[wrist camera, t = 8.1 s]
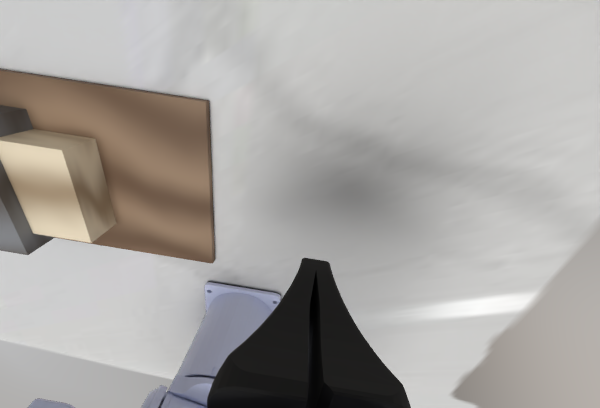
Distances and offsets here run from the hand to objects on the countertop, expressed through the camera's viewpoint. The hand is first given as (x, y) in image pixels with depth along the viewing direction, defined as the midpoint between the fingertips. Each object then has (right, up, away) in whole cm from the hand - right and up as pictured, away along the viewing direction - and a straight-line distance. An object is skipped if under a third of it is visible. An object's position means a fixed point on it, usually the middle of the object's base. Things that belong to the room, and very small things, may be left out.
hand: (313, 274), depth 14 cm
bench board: (-17, +6, +9) cm, 20 cm away
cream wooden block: (-20, +6, +9) cm, 22 cm away
